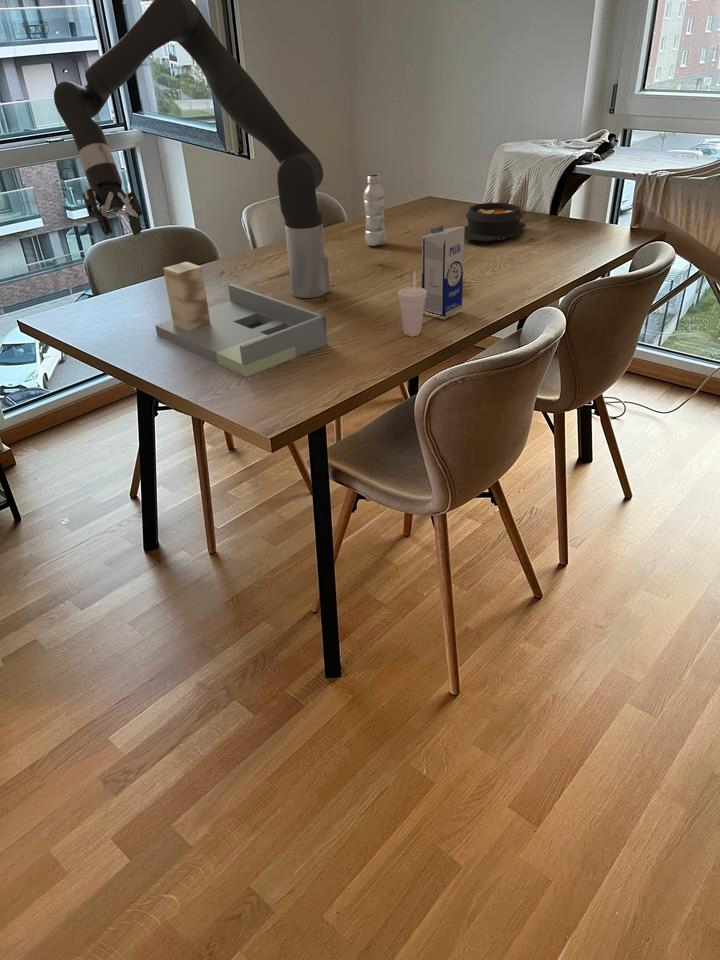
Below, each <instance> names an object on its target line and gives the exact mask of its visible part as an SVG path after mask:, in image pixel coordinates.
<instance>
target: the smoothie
mask: <svg viewBox="0 0 720 960" xmlns="http://www.w3.org/2000/svg"><path fill="white" fill-rule="evenodd" d="M412 273H413V274H412V275H413V278H412V280H413V281H412V283H413V285H412V286H408V287H403V288H400V289H399V290H398V291H397V295H396V297H397V298H398V299H399V301H398V302H399V307H400V308H399V309H400V315H401V316H400V317H401V321H402V322H401V323H402V329H403V330H402V331H403V334H404V333H406V334H409V335H410V334H411V335H413V334H418V333H420V332H421V333H422V327H423V326H422V325H423V320H424V319H423V318H424V315H423V311H424V304H425V298H426V297H427V291H426V290H425V289H423V288H422V287H417V271H416V270H415V271H413V272H412Z"/></svg>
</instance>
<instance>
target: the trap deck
mask: <svg viewBox="0 0 720 960" xmlns="http://www.w3.org/2000/svg"><path fill="white" fill-rule="evenodd" d="M227 285H228V293H229V294H228V295H229V301H226V302H223V303H219V304H216V305H213V306H210V307H208V310H209V317H210V323H211V324H208V325H205V326H202V327H199V328H196V329H193V330H190V331H187V330H184V329H182V328H180V327H178V326H175V325H173V319H171V320H168V321H163V322H161V323H158V324H155V325H154V327H155V330H156V331H155V332H156V336H157V337H159V338H161V337H162V338H161V339H163V338H164V340H166V341H168V342H170V343H173V344H174V345H176V346H179V347H181V348H183V349H185V350H188V351H189V352H192V353H194V354H195V355H198V356H200V357H203V358H204V359H206V360H209V361H211V362H214V363H215V364H217V365H219V366H222V367H224V368H227V369H228V370H230V371H232V372H235V373H237V374H239V375H241V376H244V377H246V378H248V377H250V376H252V375H255V374H258V373H260V372H262V371H265V370H267V369H270V368H273V367H275V366H278V365H280V364H283V363H285V362H287V361H290V360H292V359H295V358H297V357H300V356H302V355H305V354H307V353H310V352H312V351H314V350H318V349H320V348H322V347H324V346H327V345H328V333H327V332H328V331H327V317H326V315H324V314H320V313H318V312H316V311H312V310H310V309H306V308H304V307H301V306H298V305H294V304H291V303H289V302H286V301H283V300H280V299H277V298H274V297H271V296H269V295H266V294H263V293H259V292H256V291H254V290H251V289H248V288H245V287H242V286H239V285H236V284H234V283H229V284H227Z"/></svg>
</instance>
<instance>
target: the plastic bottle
mask: <svg viewBox="0 0 720 960" xmlns="http://www.w3.org/2000/svg"><path fill="white" fill-rule="evenodd" d="M366 179H367V180H366V182H367V186H366V188H365V189H364V191H363V204H364V209H365V232H364V241H365V243H366V245H367V246H369V245H370V247H378V246H377V245H380V246H383V245H384V244H385V243H386V241H387V240H386V239H387V232H386V228H385V227H386V226H385V218H384V213H385V212H384V211H385V200H386V199H385V198H386V193H385V191H384V188H383V187H382V185H381V184H380V183H381V174H375V173H374V174H371V173H370V174H368V175H367V177H366ZM382 244H383V245H382Z"/></svg>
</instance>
